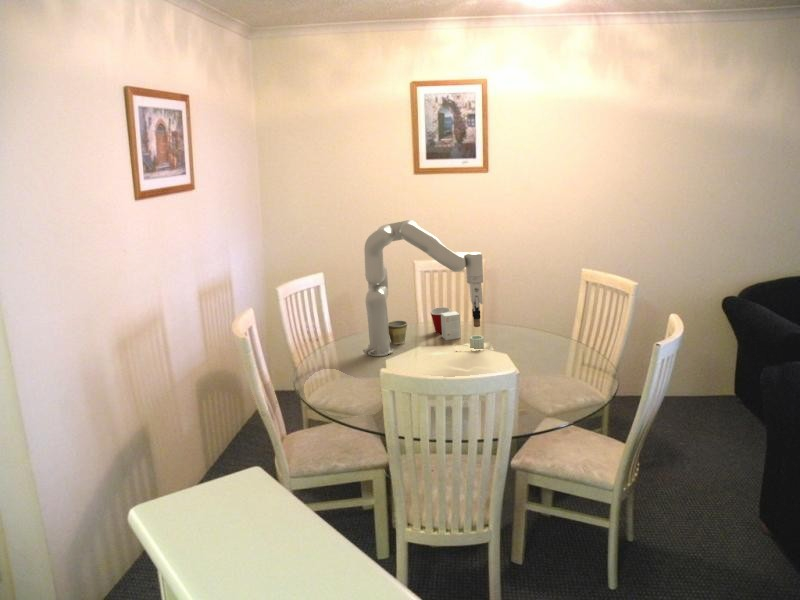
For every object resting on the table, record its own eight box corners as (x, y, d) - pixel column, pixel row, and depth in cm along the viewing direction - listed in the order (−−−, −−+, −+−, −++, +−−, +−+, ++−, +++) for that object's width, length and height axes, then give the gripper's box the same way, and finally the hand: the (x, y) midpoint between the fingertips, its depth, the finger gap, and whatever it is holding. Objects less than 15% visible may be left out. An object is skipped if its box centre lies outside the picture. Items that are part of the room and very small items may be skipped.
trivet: (454, 354, 299) (454, 352, 299) (452, 345, 311) (452, 344, 311) (493, 351, 299) (493, 350, 299) (490, 343, 310) (490, 342, 310)
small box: (457, 335, 326) (456, 311, 322) (461, 339, 320) (460, 314, 317) (441, 338, 324) (440, 313, 321) (445, 341, 318) (444, 316, 315)
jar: (479, 350, 299) (478, 340, 298) (467, 348, 303) (466, 338, 302) (486, 346, 304) (486, 336, 303) (475, 344, 308) (474, 334, 307)
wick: (477, 327, 299) (476, 302, 296) (472, 326, 301) (471, 301, 298) (481, 325, 301) (480, 300, 298) (476, 324, 303) (475, 300, 300)
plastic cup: (426, 333, 334) (424, 310, 331) (440, 328, 341) (439, 306, 338) (441, 336, 326) (440, 313, 323) (455, 331, 333) (455, 309, 330)
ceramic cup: (406, 345, 315) (404, 326, 313) (386, 345, 317) (384, 326, 315) (410, 337, 327) (409, 318, 325) (391, 337, 329) (390, 318, 327)
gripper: (485, 282, 288) (486, 322, 292) (481, 274, 303) (482, 312, 308) (468, 283, 288) (470, 323, 292) (465, 276, 304) (466, 313, 308)
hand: (476, 317), depth 300 cm, fingers closed on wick, 3 cm apart
